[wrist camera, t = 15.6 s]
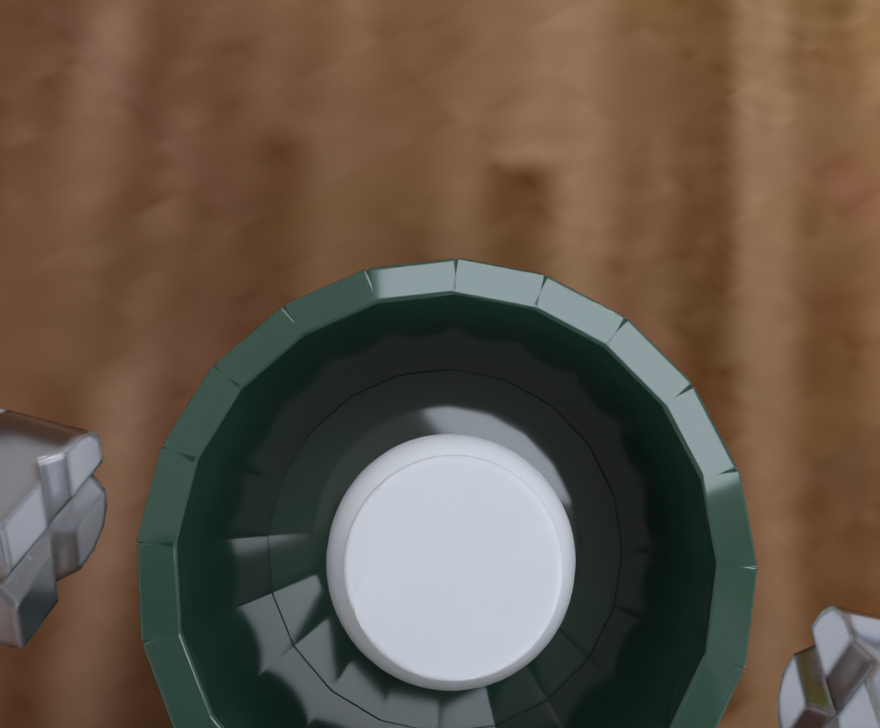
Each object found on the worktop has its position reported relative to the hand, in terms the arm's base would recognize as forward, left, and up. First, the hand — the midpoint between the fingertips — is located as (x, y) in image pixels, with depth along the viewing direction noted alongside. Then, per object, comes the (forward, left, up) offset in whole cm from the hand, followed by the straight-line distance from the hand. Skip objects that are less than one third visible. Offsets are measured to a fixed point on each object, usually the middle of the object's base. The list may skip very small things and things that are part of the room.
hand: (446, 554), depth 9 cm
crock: (0, 0, -16) cm, 16 cm away
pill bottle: (0, 0, -15) cm, 15 cm away
